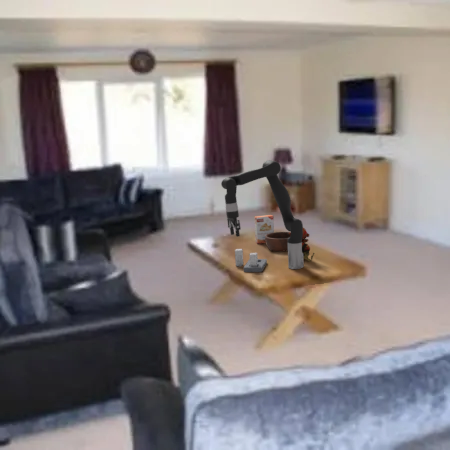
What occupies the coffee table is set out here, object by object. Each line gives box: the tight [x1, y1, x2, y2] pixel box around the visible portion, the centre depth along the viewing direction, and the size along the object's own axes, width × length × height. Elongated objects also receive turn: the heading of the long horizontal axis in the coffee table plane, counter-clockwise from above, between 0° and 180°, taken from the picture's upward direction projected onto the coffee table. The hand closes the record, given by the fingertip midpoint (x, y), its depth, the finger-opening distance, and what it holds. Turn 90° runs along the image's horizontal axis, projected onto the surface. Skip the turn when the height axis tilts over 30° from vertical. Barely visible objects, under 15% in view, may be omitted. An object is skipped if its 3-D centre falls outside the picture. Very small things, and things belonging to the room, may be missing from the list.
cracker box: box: [254, 214, 275, 244], centre depth 518 cm, size 14×6×21 cm, turn 105°
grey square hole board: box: [243, 258, 268, 273], centre depth 448 cm, size 22×12×3 cm, turn 168°
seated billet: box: [249, 252, 259, 267], centre depth 442 cm, size 4×4×11 cm
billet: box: [234, 248, 244, 267], centre depth 455 cm, size 4×4×11 cm
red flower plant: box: [288, 227, 315, 262], centre depth 459 cm, size 15×17×25 cm
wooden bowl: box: [265, 231, 291, 252], centre depth 496 cm, size 25×25×10 cm
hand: (235, 235), depth 416 cm, fingers open, 8 cm apart
